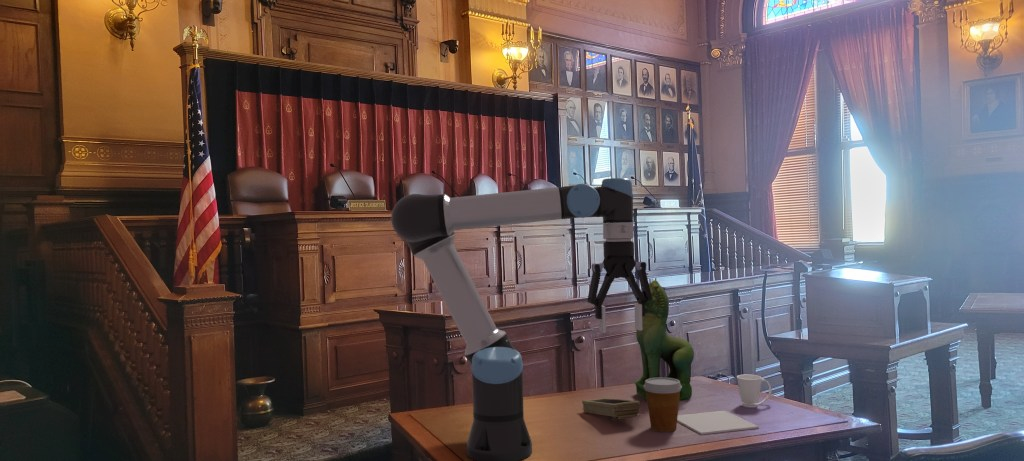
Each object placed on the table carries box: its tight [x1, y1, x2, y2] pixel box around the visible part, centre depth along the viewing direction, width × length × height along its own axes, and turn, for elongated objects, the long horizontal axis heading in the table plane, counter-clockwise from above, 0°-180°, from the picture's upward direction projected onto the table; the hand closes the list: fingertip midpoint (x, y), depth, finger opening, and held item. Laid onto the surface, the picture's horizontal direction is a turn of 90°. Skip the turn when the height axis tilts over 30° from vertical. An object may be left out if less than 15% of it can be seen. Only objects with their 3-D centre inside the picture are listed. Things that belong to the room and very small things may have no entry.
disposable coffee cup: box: [644, 377, 682, 433], centre depth 182 cm, size 10×10×12 cm
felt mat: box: [677, 410, 759, 436], centre depth 186 cm, size 16×16×1 cm
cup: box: [736, 373, 773, 408], centre depth 202 cm, size 7×10×8 cm
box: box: [581, 397, 641, 421], centre depth 194 cm, size 8×22×5 cm, turn 22°
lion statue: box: [634, 279, 695, 402], centre depth 214 cm, size 14×17×35 cm
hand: (620, 330), depth 179 cm, fingers open, 9 cm apart
